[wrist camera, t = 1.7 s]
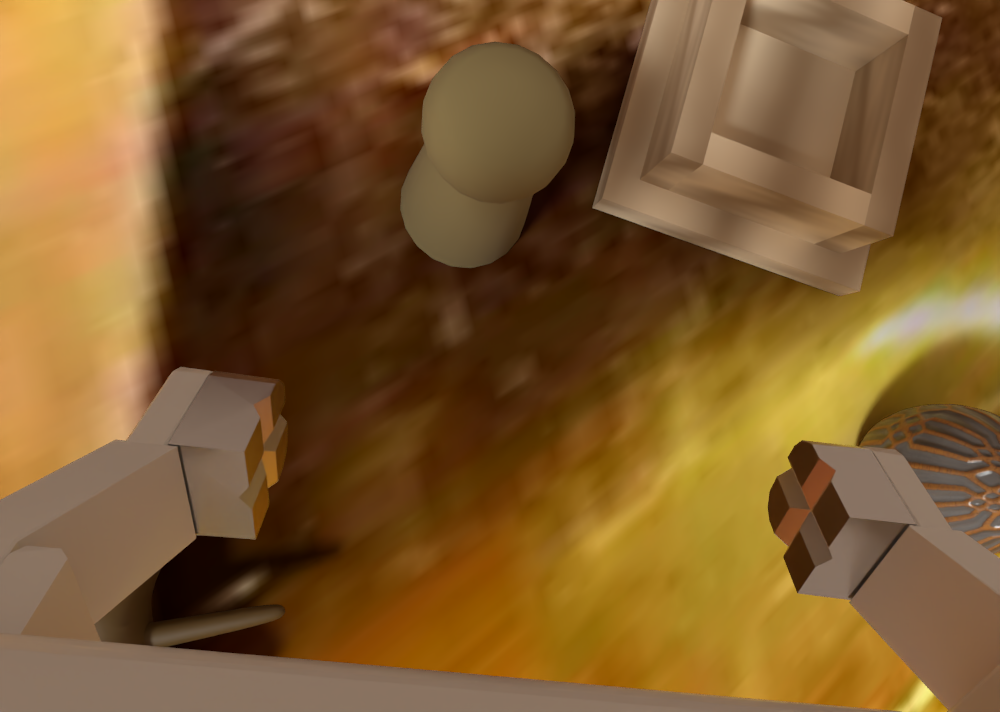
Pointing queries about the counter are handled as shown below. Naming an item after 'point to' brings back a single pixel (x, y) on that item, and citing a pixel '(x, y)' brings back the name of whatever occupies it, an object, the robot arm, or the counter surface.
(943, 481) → the vase
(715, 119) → the shaker holder
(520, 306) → the counter surface
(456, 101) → the cork
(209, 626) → the kendama
